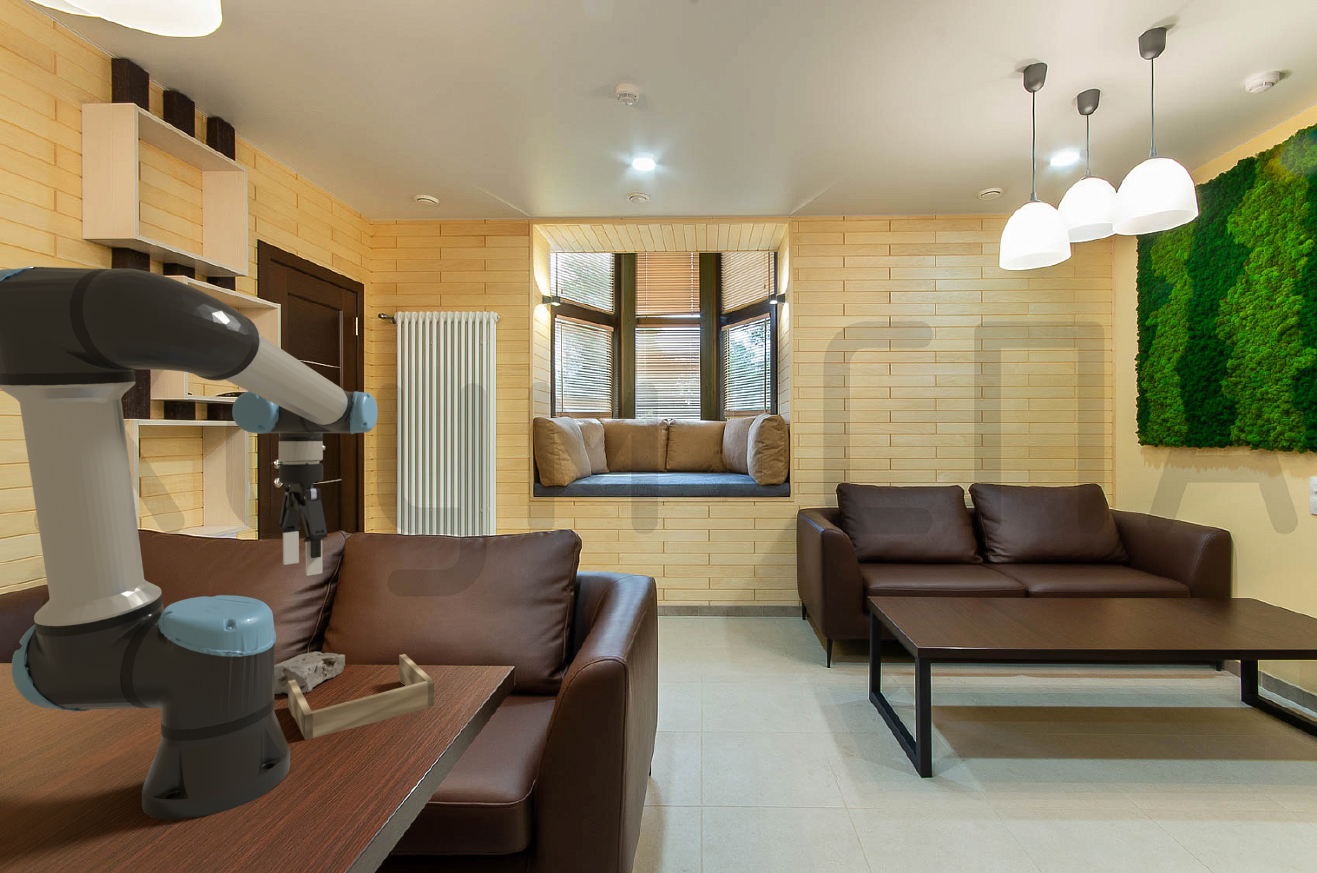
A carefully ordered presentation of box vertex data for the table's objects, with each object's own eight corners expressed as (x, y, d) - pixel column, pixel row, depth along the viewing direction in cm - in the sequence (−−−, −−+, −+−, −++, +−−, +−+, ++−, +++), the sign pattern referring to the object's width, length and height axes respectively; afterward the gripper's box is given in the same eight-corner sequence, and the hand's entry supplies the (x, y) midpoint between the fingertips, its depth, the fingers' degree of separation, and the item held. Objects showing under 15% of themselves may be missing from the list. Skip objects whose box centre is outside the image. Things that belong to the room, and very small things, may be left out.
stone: (353, 666, 117) (302, 669, 117) (350, 638, 116) (299, 641, 116) (317, 703, 104) (260, 706, 104) (314, 672, 103) (256, 676, 103)
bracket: (434, 710, 99) (433, 681, 99) (305, 749, 87) (305, 715, 87) (404, 680, 111) (404, 654, 111) (288, 710, 99) (288, 681, 99)
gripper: (345, 464, 111) (346, 575, 111) (301, 459, 127) (302, 556, 127) (301, 465, 105) (302, 583, 105) (261, 461, 122) (261, 562, 122)
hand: (302, 568), depth 116 cm, fingers open, 13 cm apart
